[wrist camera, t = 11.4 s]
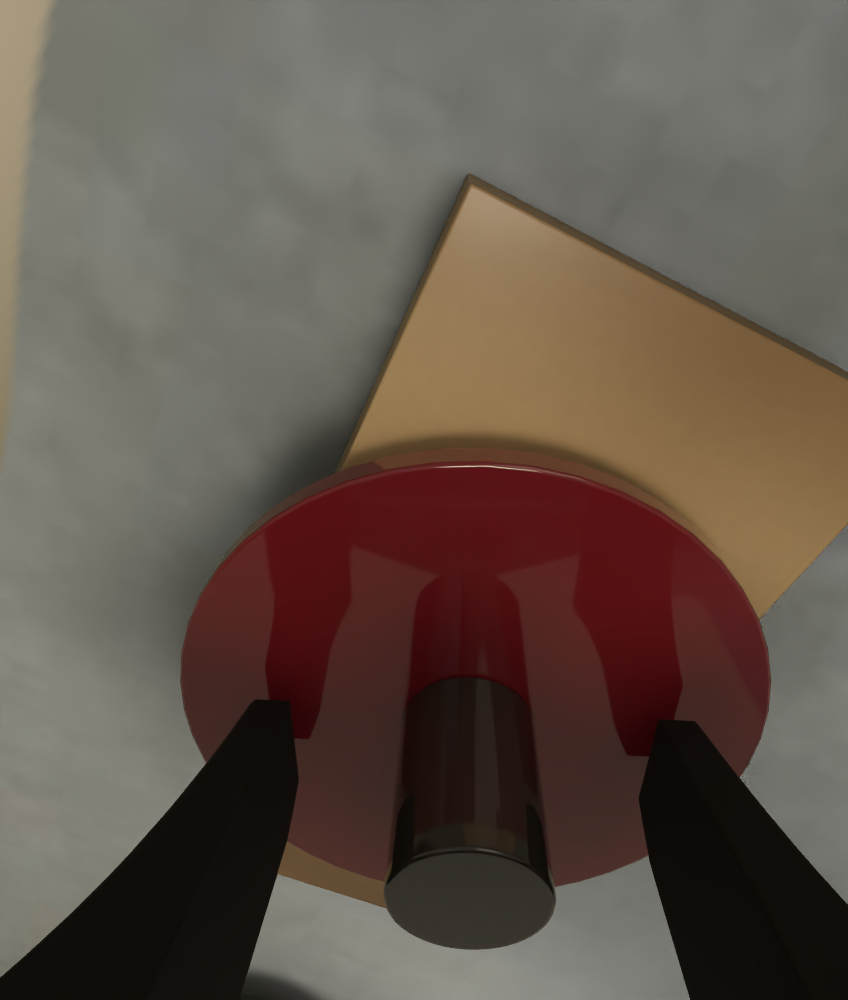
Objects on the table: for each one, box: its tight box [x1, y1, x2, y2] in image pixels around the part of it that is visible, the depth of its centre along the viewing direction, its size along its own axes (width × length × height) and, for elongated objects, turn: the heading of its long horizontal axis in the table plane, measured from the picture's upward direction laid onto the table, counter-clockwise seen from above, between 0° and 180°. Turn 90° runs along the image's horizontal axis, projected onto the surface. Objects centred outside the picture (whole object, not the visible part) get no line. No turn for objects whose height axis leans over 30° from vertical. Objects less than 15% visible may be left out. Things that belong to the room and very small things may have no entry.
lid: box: [180, 448, 771, 950], centre depth 11 cm, size 10×10×4 cm
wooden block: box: [277, 174, 848, 908], centre depth 14 cm, size 16×8×3 cm, turn 155°
